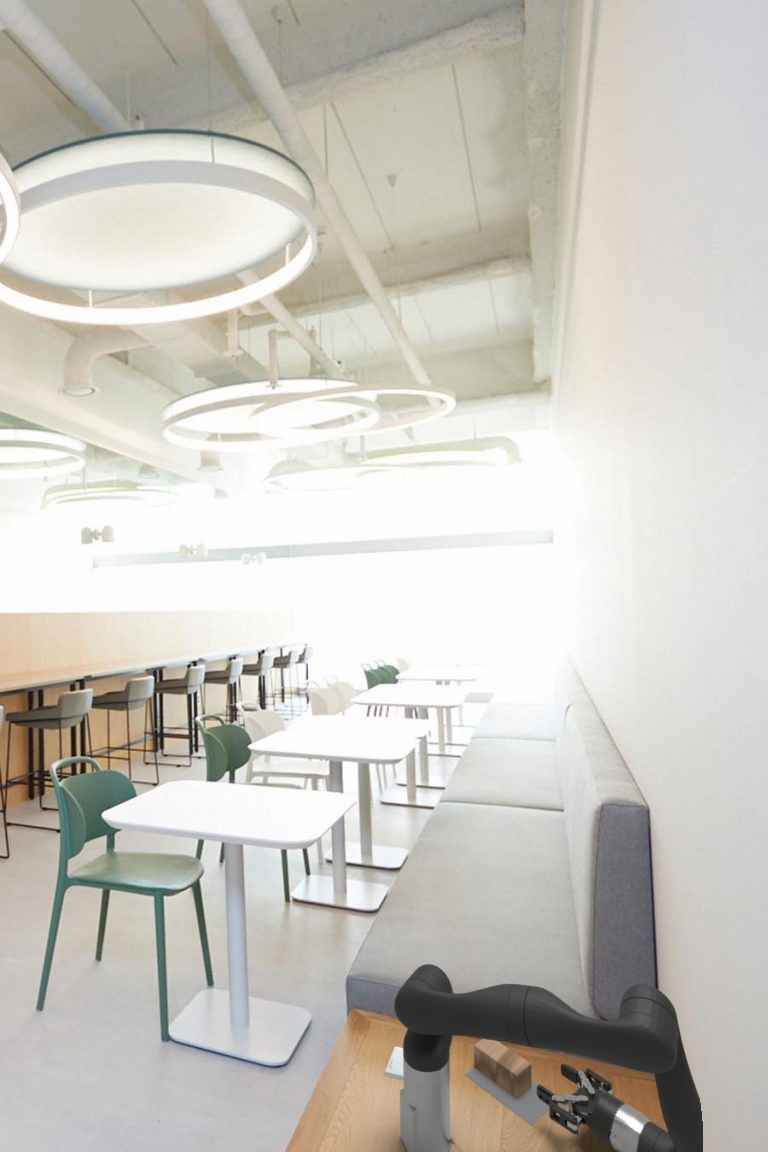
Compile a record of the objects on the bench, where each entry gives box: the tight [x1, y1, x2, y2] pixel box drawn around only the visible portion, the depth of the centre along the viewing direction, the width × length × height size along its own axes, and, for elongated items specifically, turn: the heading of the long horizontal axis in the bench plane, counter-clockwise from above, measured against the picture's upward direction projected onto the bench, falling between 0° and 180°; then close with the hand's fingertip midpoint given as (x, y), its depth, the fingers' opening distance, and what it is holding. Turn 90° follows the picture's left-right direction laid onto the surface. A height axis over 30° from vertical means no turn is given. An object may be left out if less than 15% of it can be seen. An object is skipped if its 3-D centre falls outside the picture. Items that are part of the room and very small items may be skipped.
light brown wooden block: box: [473, 1039, 532, 1099], centre depth 143 cm, size 5×5×12 cm
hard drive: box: [384, 1046, 404, 1081], centre depth 147 cm, size 2×8×12 cm
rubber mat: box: [464, 1066, 549, 1127], centre depth 140 cm, size 18×10×1 cm, turn 41°
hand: (549, 1078), depth 134 cm, fingers open, 8 cm apart
